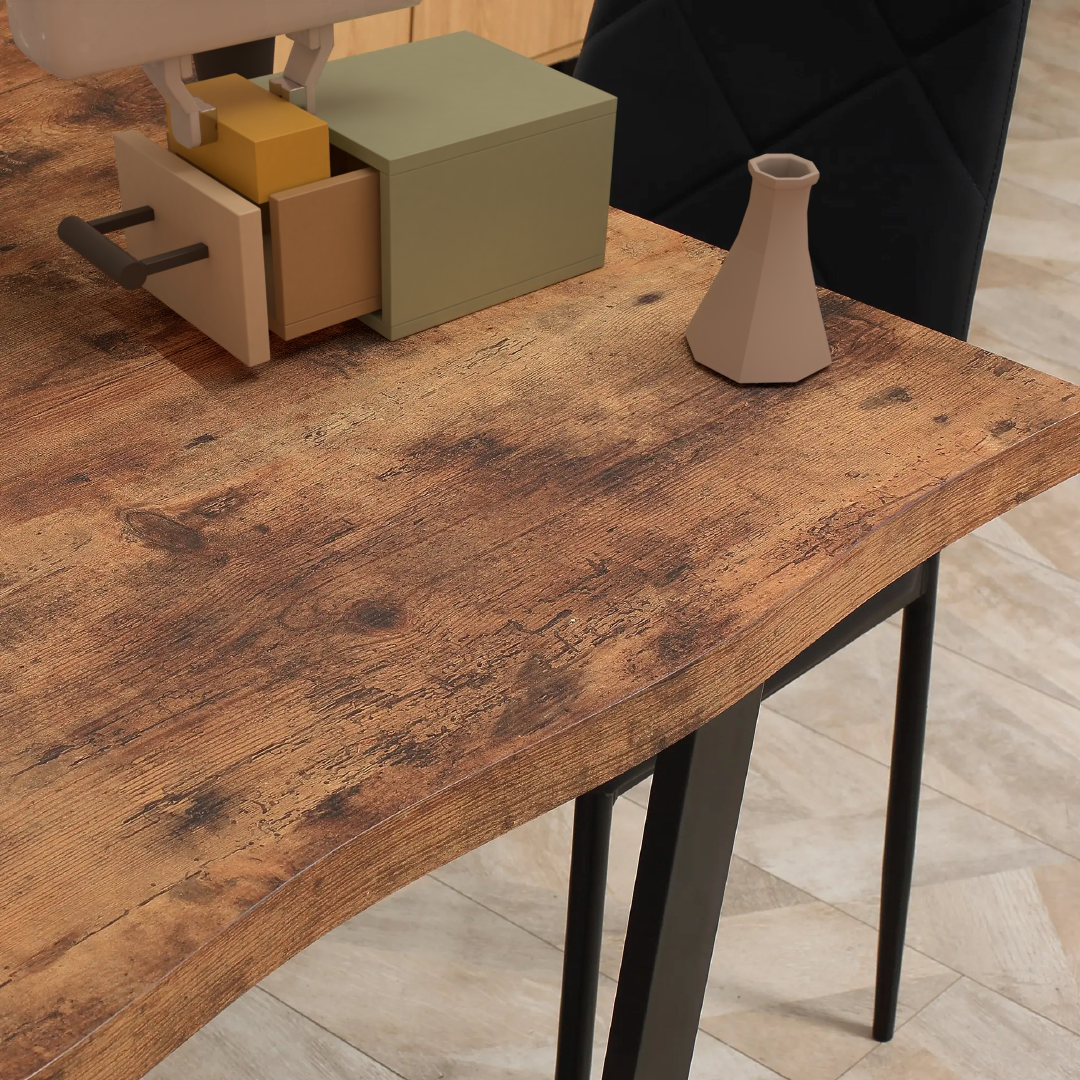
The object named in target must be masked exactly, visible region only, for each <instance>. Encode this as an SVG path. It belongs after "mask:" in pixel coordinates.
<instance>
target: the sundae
mask: <svg viewBox="0 0 1080 1080" xmlns="http://www.w3.org/2000/svg"><path fill="white" fill-rule="evenodd" d="M276 38H277V36H274V37H269V38H265V39H260V40H255V41H251V42H246V43H242V44H237V45H232V46H228V47H223V48H218V49H214V50H209V51H204V52H200V53H195V54H191V56H192V60H193V64H194V69H195V74H196V78H197V80H198V81H197V82H199V81H204V80H208V79H212V78H217V77H221V76H225V75H230V74H234V73H236V74H238V75H240V76H242V77H244V78H246V79H247V80H248V79H253V78H257V77H261V76H266V75H270V74H274V67H275V66H274V65H275V53H276V52H275V50H276Z"/></svg>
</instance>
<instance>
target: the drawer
mask: <svg viewBox="0 0 1080 1080" xmlns="http://www.w3.org/2000/svg"><path fill="white" fill-rule="evenodd" d="M165 134H166V143H167V148H165V147H163V146H162V145H160V144H158V143H157V142H155V141H154V140H152V139H151V138H149V137H148V136H146V135H145V134H143V133H141V132H140V131H138V130H136V129H129V130H125V131H120V132H115V133H113V146H114V152H115V161H116V169H117V176H118V177H117V179H118V186H119V187H118V188H119V193H120V202H121V212H117V213H113V214H110V215H106V216H102V217H99V218H95V219H91V220H88V221H85V220H83V219H82V218H81V217H80V216H77V215H69V216H68V215H67V216H66V217H64V218H63V219H62V220H61V221H60V222H59V223H58V226H57V237H58V238H59V240H60V241H61V242H62V243H64V244H65V245H66V246H67V247H69V248H70V249H71V250H73V251H74V252H75V253H76V254H78V255H79V256H80V257H82V258H83V259H84V260H86V261H87V262H88V263H90V264H91V265H92V266H93V267H95V268H96V269H98V270H99V271H100V272H101V273H102V274H104V275H106V276H107V277H108V278H109V279H111V280H112V281H113V282H115V283H116V284H117V285H119V286H120V287H121V288H122V289H124V290H125V291H136V290H138V289H141V288H143V289H145V291H147V292H148V293H150V294H151V295H152V296H153V297H155V298H157V299H158V300H159V301H160V302H161V303H163V304H164V305H166V306H167V307H168V308H169V309H171V310H172V311H173V312H175V313H176V314H177V315H178V316H180V317H181V318H183V319H184V320H186V321H187V322H188V323H190V324H191V325H192V326H194V327H195V328H197V329H198V330H199V331H200V332H202V333H203V334H204V335H206V336H207V337H208V338H209V339H211V340H212V341H214V342H215V343H216V344H218V345H219V346H220V347H221V348H223V349H224V350H226V351H227V352H228V353H230V354H231V355H232V356H233V357H235V358H236V359H238V360H239V361H240V362H241V363H243V364H244V365H246V366H247V367H249V368H252V367H255V366H258V365H261V364H264V363H266V362H269V361H271V351H270V349H271V348H270V335H269V331H271V332H272V333H274V334H275V335H276V336H278V337H279V338H281V339H282V340H284V341H285V342H288V341H290V340H293V339H296V338H299V337H302V336H305V335H309V334H311V333H314V332H316V331H320V330H322V329H325V328H328V327H331V326H335V325H337V324H340V323H343V322H346V321H349V320H352V319H355V317H358V316H361V315H364V314H367V313H370V312H373V311H376V310H379V309H382V267H381V202H380V172H381V171H379V170H378V169H376V168H374V167H372V166H370V165H369V164H367V163H365V162H363V161H362V160H360V159H358V158H356V157H354V156H353V155H351V154H349V153H347V152H345V151H344V150H342V149H340V148H338V147H336V146H335V145H333V144H331V143H329V155H330V178H328V179H325V180H321V181H317V182H314V183H310V184H306V185H303V186H299V187H296V188H292V189H288V190H285V191H281V192H278V193H274V194H270V195H269V202H265V203H261V204H258V203H256V202H255V201H253V200H251V199H250V198H248V197H247V196H245V195H243V194H242V193H240V192H239V191H237V190H235V189H234V188H232V187H231V186H229V185H227V184H226V183H224V182H223V181H221V180H219V179H218V178H216V177H215V176H213V175H211V174H210V173H208V172H207V171H205V170H203V169H202V168H200V167H199V166H197V165H195V164H194V163H192V162H191V161H189V160H187V159H186V158H184V157H183V156H181V155H179V154H178V153H176V152H175V151H173V150H171V149H170V141H169V132H168V130H166V133H165ZM121 230H124V235H125V242H126V250H125V249H123V248H122V247H121V246H119V245H118V244H116V243H115V242H114V241H112V240H111V239H110V238H108V237H107V236H105V235H106V234H109V233H113V232H116V231H121Z"/></svg>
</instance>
